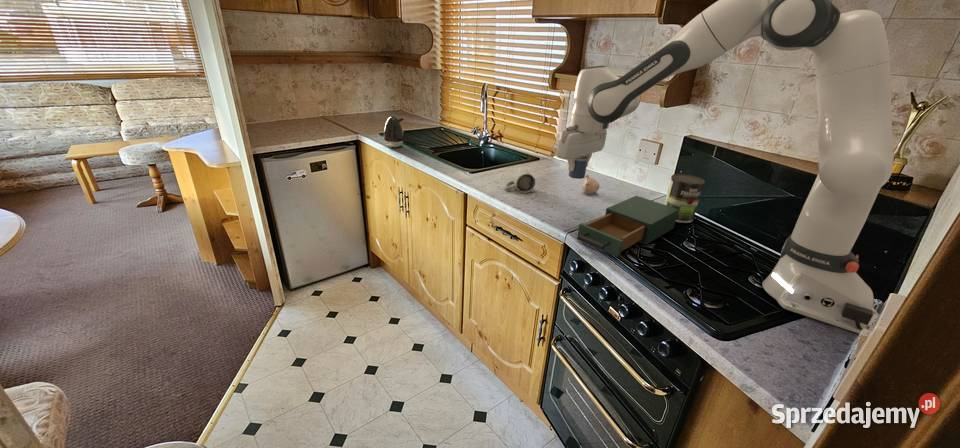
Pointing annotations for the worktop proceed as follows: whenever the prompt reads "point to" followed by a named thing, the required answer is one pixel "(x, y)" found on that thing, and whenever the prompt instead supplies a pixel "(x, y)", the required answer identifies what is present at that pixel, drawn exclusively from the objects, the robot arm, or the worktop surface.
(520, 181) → the ceramic mug
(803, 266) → the robot arm
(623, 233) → the drawer
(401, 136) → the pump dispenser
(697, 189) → the coffee can
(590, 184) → the garlic bulb
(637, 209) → the cabinet
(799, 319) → the worktop surface
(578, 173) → the spice tin
